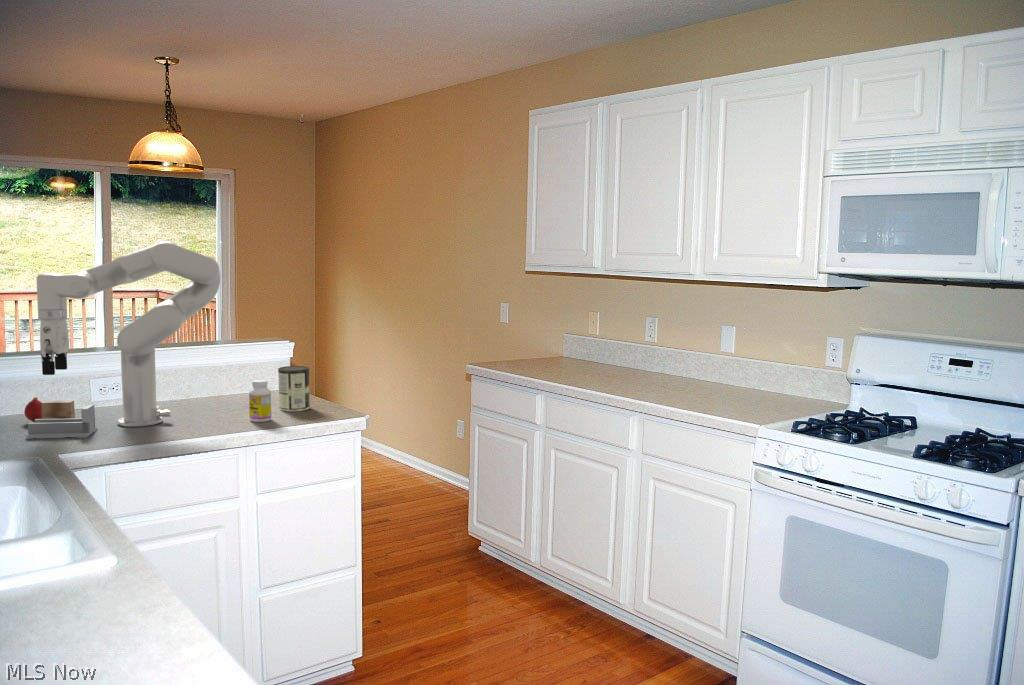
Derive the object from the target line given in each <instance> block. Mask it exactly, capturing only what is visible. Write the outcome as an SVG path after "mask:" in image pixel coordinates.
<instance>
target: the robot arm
mask: <svg viewBox="0 0 1024 685" xmlns="http://www.w3.org/2000/svg"><path fill="white" fill-rule="evenodd" d="M219 266H220V265H219V264H218V262H217V260H216V259H215V258H214V257H212V256H210V255H204V254H202V253H198V252H196V251H194V250H190V249H188V248H186V247H182V246H180V245H178V244H176V243H175V242H172V241H170V240H169V241H168V240H166V241H165V240H164V241H160V242H158V243H155V244H152V245H149V246H147V247H143V248H141V249H138V250H135V251H131V252H129V253H126V254H123V255H120V256H118V257H116V258H115V259H113V260H111V261H108V262H106V263H103V264H101V265H98V266H95V267H91V268H89V269H86V270H83V271H80V272H76V273H71V274H62V273H58V272H56V273H54V272H48V273H47V272H44V273H39V274H38V275H37V276H36V299H37V318H38V319H37V320H38V321H40V328H39V344H40V346H39V348H40V357H41V359H40V360H41V370H42V375H43V376H54V375H55V374H56V370H60V371H61V370H67V369H68V357H67V356H68V353H67V351H69V349H70V339H69V328H68V323H67V321H68V308H67V307H68V305H67V304H68V303H67V302H68V301H67V298H68V299H69V298H70V299H75V300H76V299H77V300H79V299H80V300H82V299H86V298H88V297H89V296H92V295H95V294H98V293H99V292H104V291H106V290H109V289H112V288H114V287H118V286H121V285H126V284H131V283H134V282H138V281H141V280H143V279H147V278H149V277H151V276H155V275H157V274H161V273H164V272H168V273H170V274H173V275H176V276H179V277H181V278H184V279H187V280H190V282H188V284H186V285H185V286H184V287H182V288H181V289H179V290H178V291H177V292H175V293H174V294H173V295H171V296H169V297H168V298H167V299H165V300H164V301H161V302H159V303H158V304H156V305H154V307H152V308H151V309H150V310H148V311H147V312H145V313H144V314H142V315H141V316H140V317H138V318H137V319H135V320H134V321H132V322H128V323H127V324H125V325H124V326H123V327H122V328H121V330H120V331H119V332H118V335H117V338H116V340H117V341H116V344H117V347H118V349H119V350H120V366H121V368H120V369H121V389H122V390H121V392H122V394H121V395H122V414H123V415H122V416H123V417H121V418H119V419H118V420H117V425H119V426H121V427H131V428H133V427H135V428H137V427H140V428H141V427H146V426H154V425H157V424H161V423H162V422H163V418H171V417H172V410H169V409H163V410H162V409H160V405H157V404H158V403H157V385H156V384H157V382H156V381H157V380H156V377H157V376H156V347H157V346H158V345H160V344H161V343H163V342H164V341H165V340H167V339H168V338H170V337H171V336H173V335H174V334H175V333H177V332H178V331H179V329H181V327H182V326H183V325H184V324H183V323H185V322H186V321H187V320H189V319H191V318H192V317H193V316H194V315H196V314H197V313H199V311H201V310H202V309H204V308H205V307H206V306H208V305H209V304H210V303H211V302H212V301H213V299H214V298H215V297H216V295H217V293H218V292H219V289H220V285H221V284H220V283H221V272H220V267H219Z"/></svg>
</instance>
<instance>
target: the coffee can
mask: <svg viewBox="0 0 1024 685" xmlns="http://www.w3.org/2000/svg"><path fill="white" fill-rule="evenodd" d="M277 372H278V404H279V405H278V406H279V408H278V410H279V411H280V412H281V411H282V412H292V413H293V412H294V413H295V412H304V411H307V410H309V409H310V408H311V406H310V404H311V403H310V367H309V366H306V365H288V366H287V365H286V366H282V367H279V368H277Z"/></svg>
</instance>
